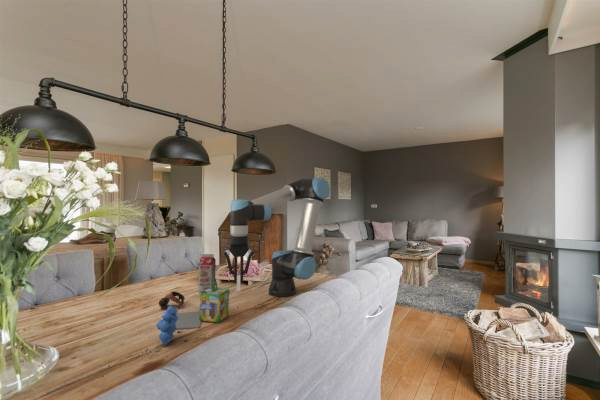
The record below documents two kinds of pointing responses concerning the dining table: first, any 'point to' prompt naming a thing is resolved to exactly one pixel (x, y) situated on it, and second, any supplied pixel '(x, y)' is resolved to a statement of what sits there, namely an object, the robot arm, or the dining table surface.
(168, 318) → the grapes
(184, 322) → the mat
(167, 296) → the brown ring
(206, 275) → the juice carton
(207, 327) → the dining table surface
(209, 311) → the chalk box
